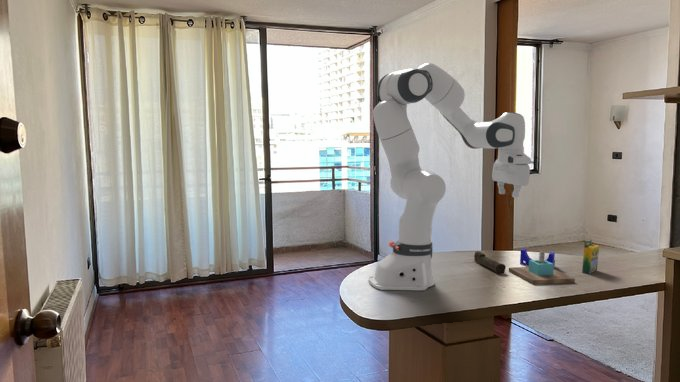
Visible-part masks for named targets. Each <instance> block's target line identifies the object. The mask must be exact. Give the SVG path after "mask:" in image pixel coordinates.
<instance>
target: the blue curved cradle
mask: <svg viewBox="0 0 680 382" xmlns="http://www.w3.org/2000/svg"><path fill="white" fill-rule="evenodd" d="M555 256H556V254H555V252H552V251H550V253H549V252H548V256H547V259H545V260H546V261H548V262H551V263H553V264H554V268H555V266H556V265H555V264H556V259H555ZM529 260H533V259H532V258H531V257H530V256H529V254H528V249H527V248H521V249H520V258H519V265H522V266H527V267H529Z"/></svg>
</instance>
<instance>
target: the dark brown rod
mask: <svg viewBox="0 0 680 382" xmlns="http://www.w3.org/2000/svg"><path fill="white" fill-rule="evenodd" d="M473 257H474V259H473V260H474V262H475V263H476V264H477V265H479V264H481V265H480V266H484V267H486V268H488V269H490V270H492V271H493V272H495V274H496V275H500V274H501V275H502V274H504V273H505V272H506V265H505V264H504V263H499V261H496V260H493V259H491V258H489V257H487V256H486V254H485V253H483V252H480V251H475V252H474V256H473Z"/></svg>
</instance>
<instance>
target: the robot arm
mask: <svg viewBox="0 0 680 382" xmlns="http://www.w3.org/2000/svg"><path fill="white" fill-rule="evenodd" d="M465 93H466V92H465V90H464V88H463V87H462V85H461V83H459V82H458V81H457V80H456V79H455V78H454V77H453V76H451V74H449V73H448V71H447V72H446V71H445V70H444V69H442V68H441V67H439V66H438V65H436V64H434V63H432V62H425V63H423V64H422V65H419V67H417V68H415V67H413V68H412V67H411V68H407V69H399V70H394V71H393V72H390V73H387V74H385V75H384V76H382V77H381V78H380V79H379V80H378V83H377V87H376V96H377V105H375V107H374V108H373V110H372V117H373V122H374V126H375V130H376V132H377V135H378V139H379V141H380V143H381V145H382V148H383V150H384V153H385V156H386V158H387V161H388V165H389V170H390V175H391V177H390V182H389V183H390V188H391V190H392V191H393V192H394V193H395V194H396V196H398V197H399V198H401V199H404V200H406V203H405V208H404V211H403V213H402V214H401V216H400V217H399V218H398V219H399V220H398V222H399V223H398V240H397V241H396V242H394V241H393V240H389V242H388V247H390V248H392V252H391V253H389V254H388V255H386V257H384V258H383V259H381V260H380V261H378V262H377V265H376V267H375V271H374V272H375V274H370V275H369V277H368V283H369V284H370V285H371V287H373V288H375V289H377V290H381V291H382V290H383V291H426V290H427V289H428V288H430V287H433V286H434V285H435V278H434V274H433V266H432V258H433V252H434V249H433V242H432V231H433V230H432V229H433V219H434V215H435V212H436V209H437V207H438V204H439V202H440V201H441V200H442V199H443V198H444V196H445V194H446V182H445V181H444V179H443V177H441V176H440V175H439V174H437V173H436V172H434V171H432V170H425V169H422V168H421V166H420V161H419V153H420V145H419V142H418V139H417V137H416V135H415V132H414V130H413V127H412V125H411V122H410V120H409V118H408V112H407V108H408V105H410V104H415V103H418V102H420V101H422V100H423V99H425V100H426V101H428V102H429V103H430V104H431V105H432V106H433V107H434V108H435V109H436V110H438V111H439V113H440V114H441V115H442V116H443V118H445V120H446V121H447V122H448V123H449V124H450V125H451V126H452V127H453V128H454V129H455V130H456V131H457V132H458V133H459V135H460V136H461V138H462V140H463V142H464V144H465V145H466V147H468V148H470V149H475V150H476V149H491V150H492V149H493V150H494V149H495V150H496V149H498V150H497V151H498V152H497V157H496V159H495V161H494V163H493V165H492V172H491V178H492V181H494V182H497V183H496V184H497V187H498V194H500V195H505V194H506V189H505V184H509V185H513V191H512V192H511V197H512V198H519V192H520V191H521V189H522V186H525V187H527V186H528V184H529V182H530V173H531V168H530V165H531V163H532V158H531V157H530V156H528V155H526V153H525V148H524V147H525V146H524V141H525V139H526V138H525V137H526V122H525V117H524V116H523V115H522V114H520V113H517V112H509V111H508V112H503V113H502V115H500V116H499V117H497V118H495V119H493V120H491V121H477V120H474V119H471V118H470V117H469V115H468V114H467V113H466V112H465V111H464V110H463V109H462V108H461V107H462V105H463V102H464V100H465V96H466V95H465Z"/></svg>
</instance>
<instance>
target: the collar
mask: <svg viewBox="0 0 680 382" xmlns="http://www.w3.org/2000/svg"><path fill="white" fill-rule="evenodd" d="M546 260H547V259H544V263H543V264H539V259H532V260H529V266H528V267H529V271H530V272H532V273H534V274H536V275H538V276H539V275H553V270H554V269H555V267H554V264H553V263H551V262H548V261H546Z"/></svg>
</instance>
